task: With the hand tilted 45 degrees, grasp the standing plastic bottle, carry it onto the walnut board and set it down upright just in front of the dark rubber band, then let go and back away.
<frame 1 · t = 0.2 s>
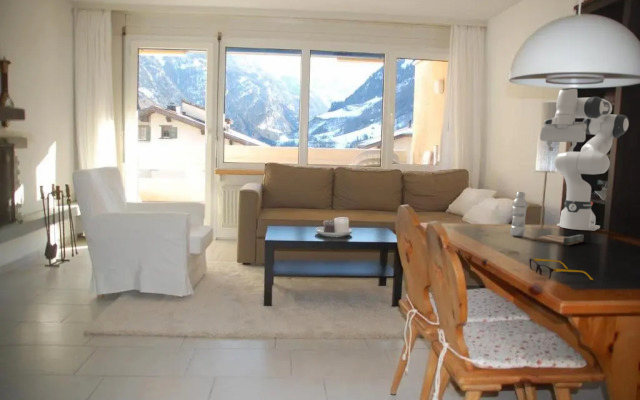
hand: (560, 151, 242), 39 cm above the table, tool pointing down, fingers open, 8 cm apart
plastic bottle: (517, 236, 231), on the table
walnut board: (558, 240, 223), on the table
eyeglasses: (558, 275, 163), on the table
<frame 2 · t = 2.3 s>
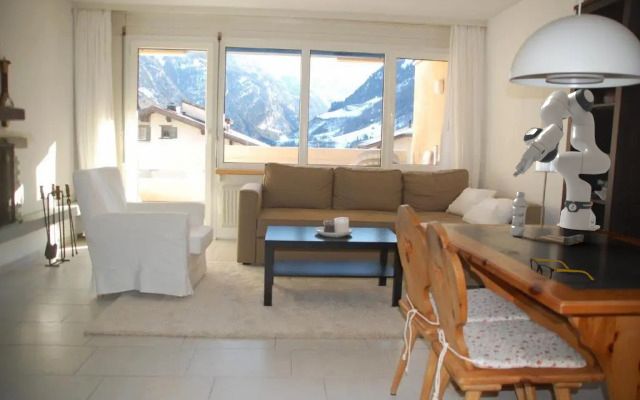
hand: (515, 172, 239), 28 cm above the table, tool tilted 45°, fingers open, 8 cm apart
nothing on the table moved.
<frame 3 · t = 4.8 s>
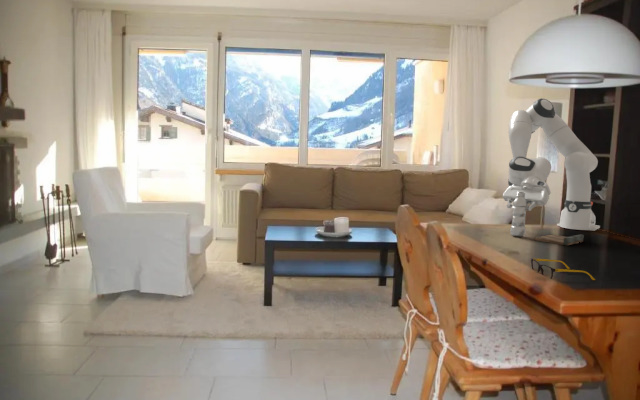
hand: (518, 208, 231), 13 cm above the table, tool tilted 45°, fingers open, 8 cm apart
nothing on the table moved.
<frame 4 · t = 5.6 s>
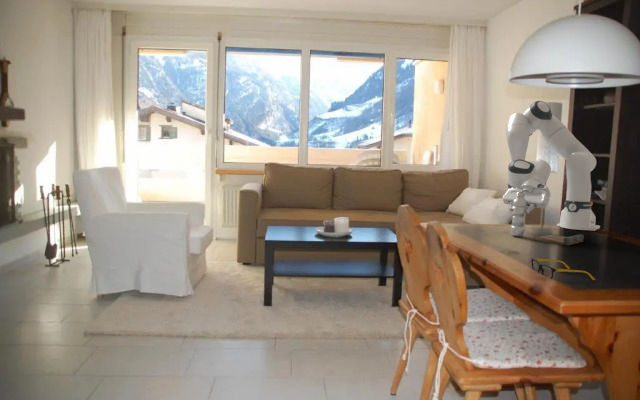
hand: (518, 211, 230), 11 cm above the table, tool tilted 45°, fingers closed on plastic bottle, 6 cm apart
plastic bottle: (517, 236, 231), on the table, touching gripper
everything else where it was.
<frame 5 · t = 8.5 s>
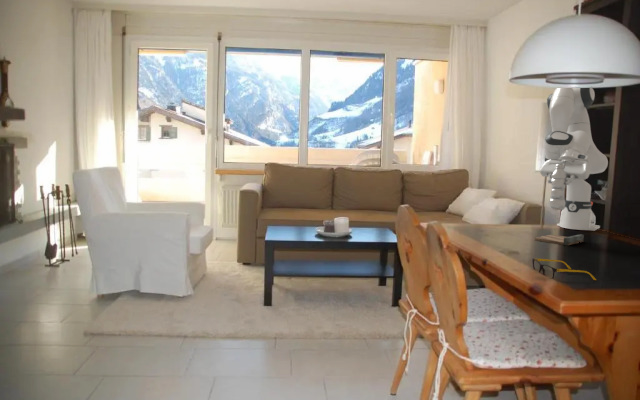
hand: (558, 183, 221), 25 cm above the table, tool tilted 45°, fingers closed on plastic bottle, 6 cm apart
plastic bottle: (556, 210, 223), point 13 cm above the table, touching gripper
everything else where it was.
when the fingers open (13 cm above the table, at t = 11.7 s): plastic bottle stays where it is, resting on walnut board.
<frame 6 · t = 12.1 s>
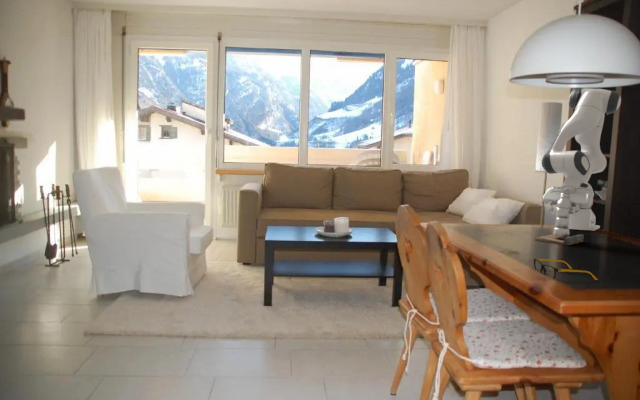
hand: (560, 211, 222), 13 cm above the table, tool tilted 45°, fingers open, 8 cm apart
plastic bottle: (560, 239, 223), point 1 cm above the table, touching gripper, walnut board
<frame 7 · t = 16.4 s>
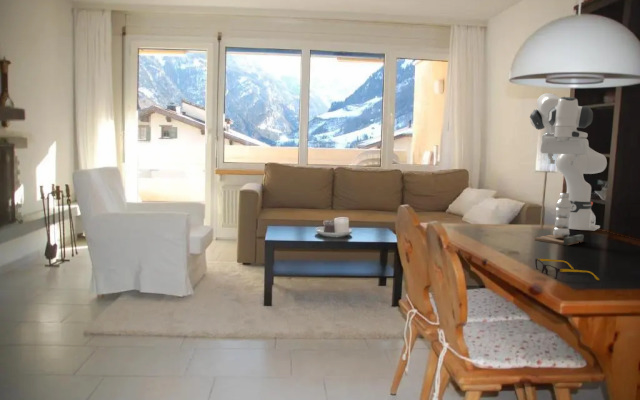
hand: (562, 164, 231), 33 cm above the table, tool pointing down, fingers open, 8 cm apart
plastic bottle: (560, 239, 223), point 1 cm above the table, touching walnut board
at the end: plastic bottle inside the target area (1.2 cm from its centre), point 0.8 cm above the table; plastic bottle tilted 0°; the gripper is holding nothing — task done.
